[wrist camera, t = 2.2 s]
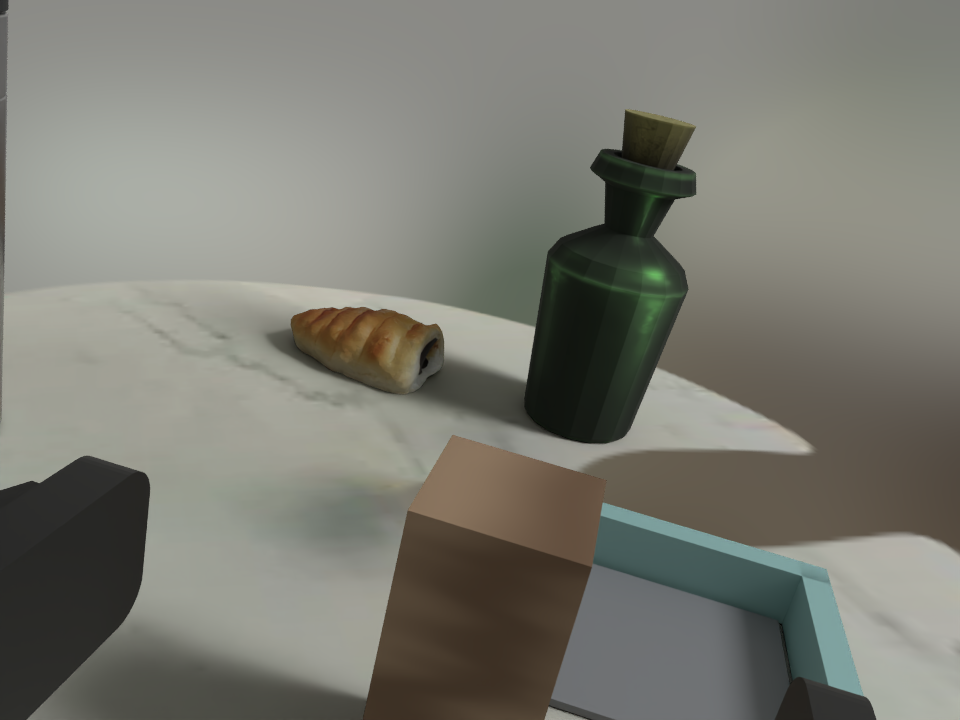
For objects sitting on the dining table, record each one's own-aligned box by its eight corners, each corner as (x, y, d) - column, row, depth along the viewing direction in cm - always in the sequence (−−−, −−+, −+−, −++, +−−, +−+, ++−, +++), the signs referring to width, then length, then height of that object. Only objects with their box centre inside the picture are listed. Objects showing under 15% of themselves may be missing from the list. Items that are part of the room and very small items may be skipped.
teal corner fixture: (387, 821, 24) (403, 754, 24) (500, 522, 40) (512, 475, 39) (896, 1001, 23) (934, 937, 22) (806, 615, 38) (826, 569, 38)
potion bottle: (522, 377, 57) (593, 96, 51) (644, 412, 56) (733, 130, 50) (497, 425, 50) (577, 103, 43) (637, 467, 49) (740, 143, 42)
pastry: (265, 355, 52) (273, 295, 51) (319, 327, 58) (328, 273, 57) (407, 405, 50) (420, 344, 49) (448, 371, 56) (461, 316, 55)
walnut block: (342, 814, 24) (407, 510, 21) (390, 704, 29) (452, 434, 25) (497, 870, 24) (592, 567, 20) (523, 749, 28) (606, 480, 24)
